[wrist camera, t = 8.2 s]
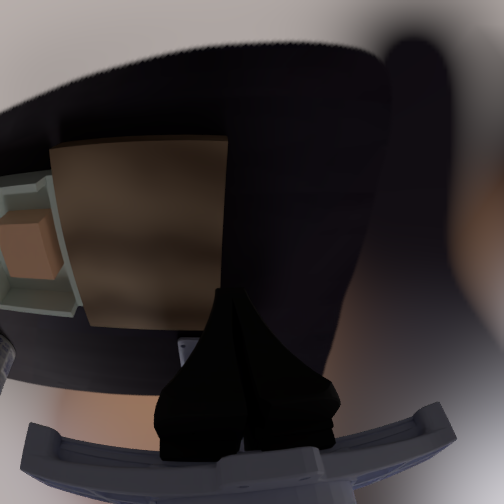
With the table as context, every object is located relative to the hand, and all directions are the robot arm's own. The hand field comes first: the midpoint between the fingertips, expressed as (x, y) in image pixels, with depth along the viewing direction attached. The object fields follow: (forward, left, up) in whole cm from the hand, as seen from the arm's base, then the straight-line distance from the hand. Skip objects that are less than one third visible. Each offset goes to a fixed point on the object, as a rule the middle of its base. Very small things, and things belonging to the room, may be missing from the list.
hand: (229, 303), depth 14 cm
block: (-2, +16, -9) cm, 18 cm away
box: (-2, +17, -9) cm, 20 cm away
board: (-2, +6, -9) cm, 11 cm away
